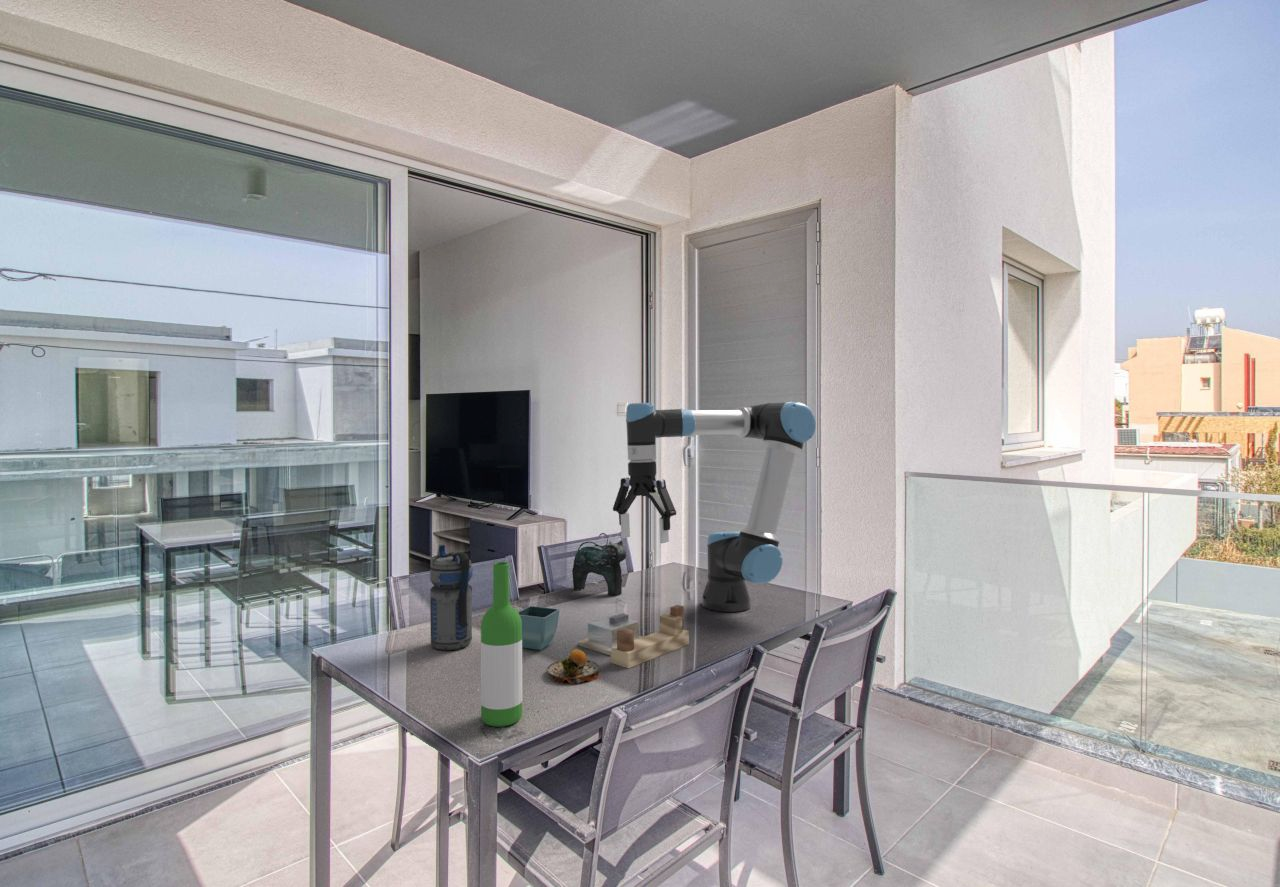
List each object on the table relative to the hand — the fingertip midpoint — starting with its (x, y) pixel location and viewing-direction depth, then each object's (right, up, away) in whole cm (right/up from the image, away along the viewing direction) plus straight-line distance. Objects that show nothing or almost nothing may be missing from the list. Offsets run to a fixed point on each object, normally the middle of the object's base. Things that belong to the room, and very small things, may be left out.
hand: (644, 540), depth 182 cm
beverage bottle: (-49, -26, -10) cm, 56 cm away
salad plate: (-16, -27, -29) cm, 43 cm away
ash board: (-8, -26, -8) cm, 28 cm away
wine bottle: (-28, -27, -52) cm, 65 cm away
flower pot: (-27, -26, -10) cm, 39 cm away
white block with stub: (-8, -25, -8) cm, 27 cm away
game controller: (-15, -24, +46) cm, 54 cm away
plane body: (+2, -26, -15) cm, 30 cm away
